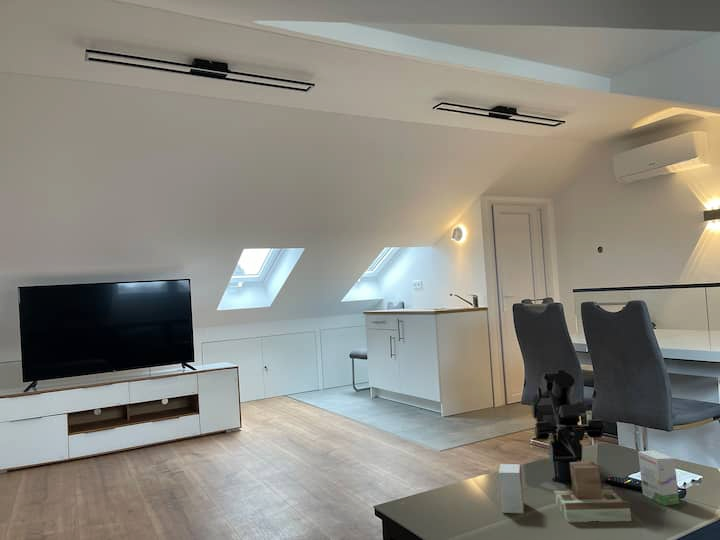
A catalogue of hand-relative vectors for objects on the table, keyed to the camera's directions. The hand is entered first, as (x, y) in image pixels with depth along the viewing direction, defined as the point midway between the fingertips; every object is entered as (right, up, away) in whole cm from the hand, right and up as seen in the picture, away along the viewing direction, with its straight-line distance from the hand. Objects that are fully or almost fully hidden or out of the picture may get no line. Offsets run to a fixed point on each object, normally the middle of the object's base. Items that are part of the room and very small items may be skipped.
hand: (576, 456), depth 145 cm
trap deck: (0, -10, -10) cm, 14 cm away
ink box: (+20, -10, -6) cm, 23 cm away
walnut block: (0, -8, -7) cm, 11 cm away
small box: (-19, -13, -4) cm, 23 cm away
